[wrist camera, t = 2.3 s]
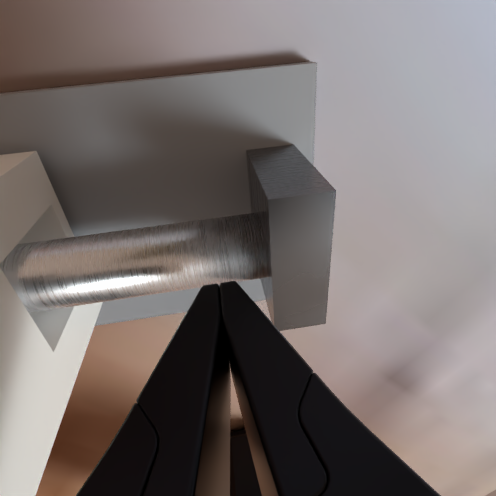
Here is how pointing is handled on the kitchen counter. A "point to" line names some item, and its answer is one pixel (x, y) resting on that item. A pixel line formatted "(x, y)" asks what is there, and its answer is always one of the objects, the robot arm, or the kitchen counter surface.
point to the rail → (201, 250)
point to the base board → (160, 152)
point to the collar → (33, 332)
